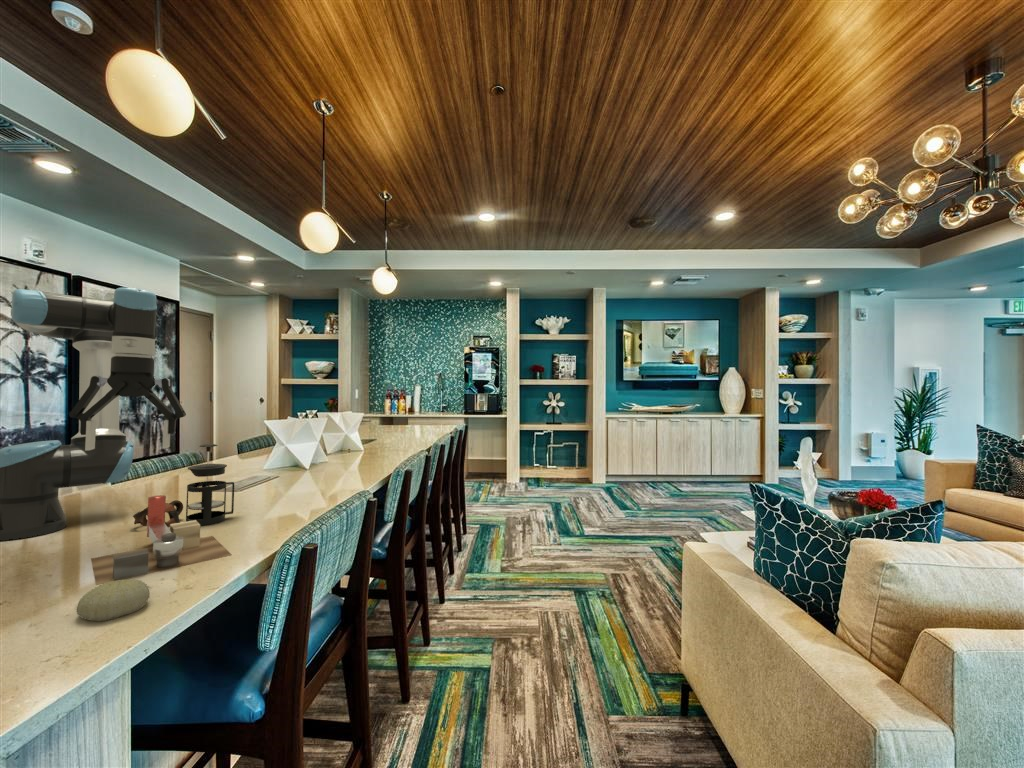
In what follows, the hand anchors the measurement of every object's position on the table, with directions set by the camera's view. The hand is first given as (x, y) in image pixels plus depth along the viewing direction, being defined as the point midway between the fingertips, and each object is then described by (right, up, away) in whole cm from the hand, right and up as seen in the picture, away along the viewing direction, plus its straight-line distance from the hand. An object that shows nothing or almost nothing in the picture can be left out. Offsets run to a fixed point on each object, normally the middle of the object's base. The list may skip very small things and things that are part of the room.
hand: (129, 448), depth 100 cm
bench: (+11, -25, -5) cm, 27 cm away
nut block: (+11, -23, +2) cm, 26 cm away
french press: (+3, -25, +21) cm, 33 cm away
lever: (+10, -21, -3) cm, 24 cm away
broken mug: (-10, -25, +22) cm, 35 cm away
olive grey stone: (+20, -25, -25) cm, 40 cm away
